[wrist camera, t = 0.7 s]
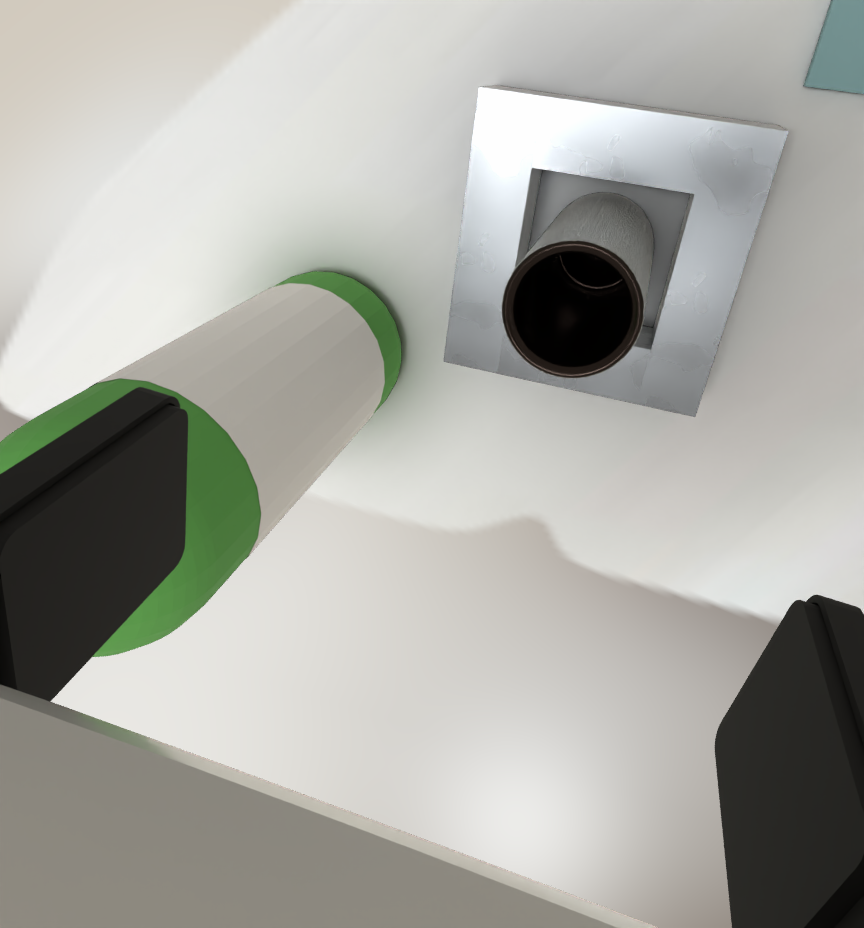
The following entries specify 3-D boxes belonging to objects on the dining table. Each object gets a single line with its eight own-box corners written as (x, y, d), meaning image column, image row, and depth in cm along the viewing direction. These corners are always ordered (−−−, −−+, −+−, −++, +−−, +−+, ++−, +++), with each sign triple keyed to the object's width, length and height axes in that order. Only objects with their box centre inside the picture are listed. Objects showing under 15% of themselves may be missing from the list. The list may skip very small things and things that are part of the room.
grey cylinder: (571, 175, 31) (530, 217, 22) (673, 213, 31) (670, 272, 22) (533, 275, 33) (481, 349, 25) (627, 312, 33) (607, 400, 24)
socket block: (779, 125, 28) (788, 131, 26) (693, 390, 34) (695, 416, 31) (495, 85, 30) (478, 86, 28) (460, 340, 36) (443, 361, 33)
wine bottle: (431, 307, 36) (-179, 900, 10) (380, 434, 40) (-142, 1078, 14) (289, 237, 36) (-628, 643, 11) (254, 370, 40) (-467, 888, 15)
